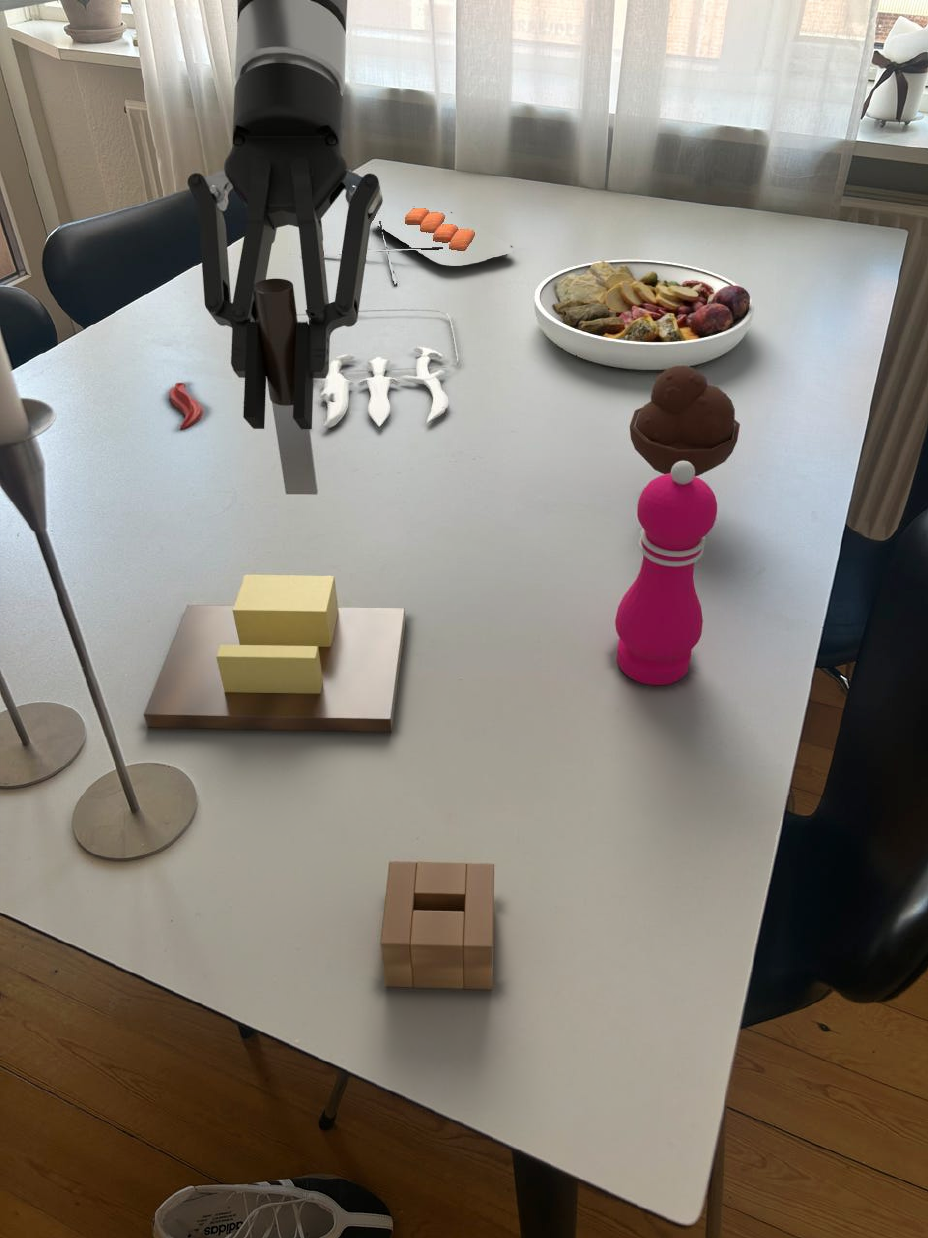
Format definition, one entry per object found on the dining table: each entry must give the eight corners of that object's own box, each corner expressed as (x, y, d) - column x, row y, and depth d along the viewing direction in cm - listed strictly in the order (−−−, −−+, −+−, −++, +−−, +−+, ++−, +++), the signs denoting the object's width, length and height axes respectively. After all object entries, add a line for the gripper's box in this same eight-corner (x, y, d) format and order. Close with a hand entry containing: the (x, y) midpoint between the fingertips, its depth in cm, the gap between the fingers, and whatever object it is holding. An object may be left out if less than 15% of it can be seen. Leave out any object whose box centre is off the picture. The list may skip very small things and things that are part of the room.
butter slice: (224, 692, 80) (215, 656, 77) (228, 680, 81) (219, 644, 78) (320, 694, 79) (315, 658, 77) (323, 681, 80) (318, 645, 78)
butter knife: (281, 502, 72) (248, 293, 62) (287, 483, 74) (257, 277, 64) (316, 502, 72) (289, 293, 62) (321, 484, 74) (296, 277, 64)
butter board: (147, 727, 79) (143, 714, 78) (190, 617, 89) (187, 604, 88) (391, 732, 78) (390, 719, 77) (405, 620, 89) (404, 608, 88)
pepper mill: (593, 656, 85) (614, 458, 72) (651, 623, 88) (681, 428, 75) (653, 702, 80) (687, 500, 67) (712, 666, 84) (755, 466, 71)
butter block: (239, 645, 84) (232, 610, 81) (251, 609, 88) (244, 574, 85) (330, 647, 84) (326, 611, 81) (338, 610, 88) (334, 575, 85)
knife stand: (384, 987, 61) (379, 944, 58) (393, 905, 66) (389, 860, 63) (492, 990, 61) (493, 947, 58) (493, 907, 66) (494, 863, 62)
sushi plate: (521, 261, 159) (521, 237, 156) (355, 297, 147) (353, 273, 145) (435, 212, 178) (435, 191, 175) (283, 242, 166) (280, 219, 164)
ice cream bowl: (614, 524, 100) (629, 392, 91) (631, 470, 108) (646, 343, 99) (718, 541, 98) (744, 406, 88) (727, 484, 106) (752, 355, 96)
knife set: (253, 436, 115) (251, 427, 114) (275, 317, 141) (274, 310, 141) (468, 427, 116) (468, 418, 115) (450, 311, 143) (450, 303, 142)
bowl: (514, 368, 128) (516, 310, 123) (552, 284, 151) (554, 233, 146) (745, 391, 123) (757, 332, 118) (749, 300, 145) (759, 247, 140)
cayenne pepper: (199, 428, 117) (196, 413, 115) (160, 430, 116) (157, 416, 115) (209, 383, 126) (206, 369, 125) (173, 385, 125) (170, 371, 124)
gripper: (407, 123, 70) (399, 439, 68) (195, 124, 71) (181, 437, 69) (397, 55, 63) (387, 407, 61) (159, 56, 64) (143, 405, 62)
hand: (278, 422), depth 65 cm, fingers closed on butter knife, 3 cm apart
